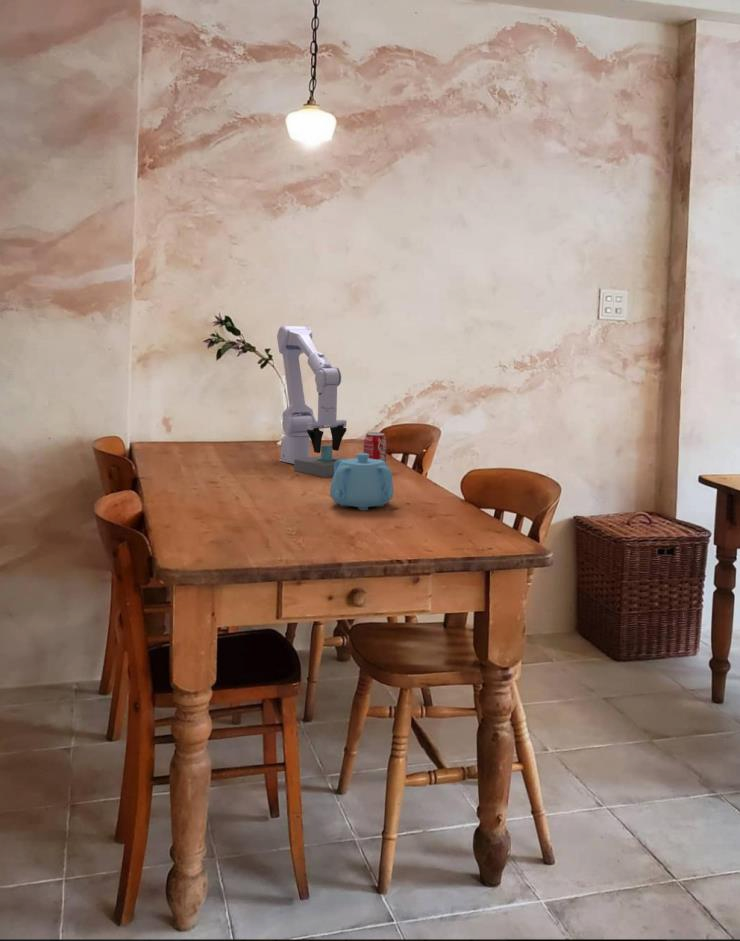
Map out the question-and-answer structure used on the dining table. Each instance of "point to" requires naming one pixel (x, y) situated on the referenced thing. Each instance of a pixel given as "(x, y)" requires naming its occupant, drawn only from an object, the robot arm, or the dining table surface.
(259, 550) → the dining table surface
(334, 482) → the decorative pot
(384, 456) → the soda can
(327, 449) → the peg
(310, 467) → the socket
